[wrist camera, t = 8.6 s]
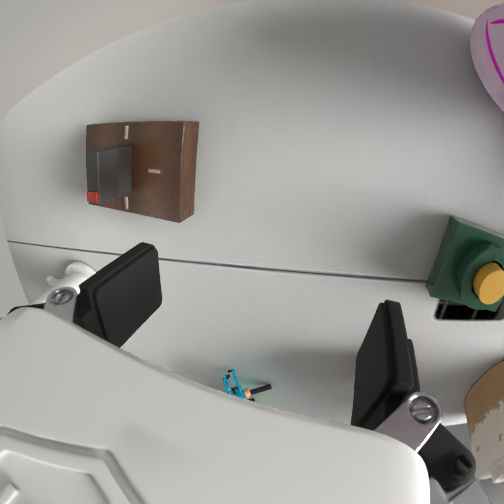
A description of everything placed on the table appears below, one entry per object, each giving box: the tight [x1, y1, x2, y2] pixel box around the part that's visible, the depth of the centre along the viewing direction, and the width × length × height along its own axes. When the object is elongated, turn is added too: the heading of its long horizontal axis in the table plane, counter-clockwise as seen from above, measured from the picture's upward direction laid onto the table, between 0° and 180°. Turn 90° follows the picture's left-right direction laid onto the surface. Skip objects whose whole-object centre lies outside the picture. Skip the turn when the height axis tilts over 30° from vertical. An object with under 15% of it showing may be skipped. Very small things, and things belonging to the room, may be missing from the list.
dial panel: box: [86, 121, 199, 223], centre depth 28 cm, size 14×10×3 cm
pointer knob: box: [86, 145, 132, 204], centre depth 24 cm, size 5×2×5 cm, turn 174°
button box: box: [426, 215, 504, 312], centre depth 20 cm, size 10×8×4 cm
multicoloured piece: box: [223, 369, 272, 402], centre depth 38 cm, size 12×7×8 cm
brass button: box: [473, 262, 504, 304], centre depth 18 cm, size 4×4×2 cm
